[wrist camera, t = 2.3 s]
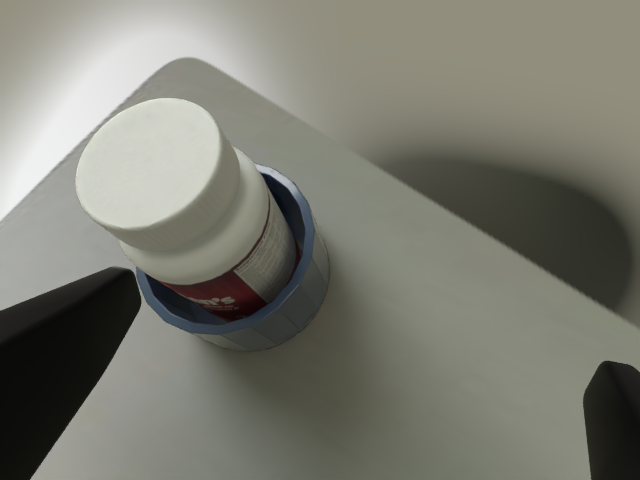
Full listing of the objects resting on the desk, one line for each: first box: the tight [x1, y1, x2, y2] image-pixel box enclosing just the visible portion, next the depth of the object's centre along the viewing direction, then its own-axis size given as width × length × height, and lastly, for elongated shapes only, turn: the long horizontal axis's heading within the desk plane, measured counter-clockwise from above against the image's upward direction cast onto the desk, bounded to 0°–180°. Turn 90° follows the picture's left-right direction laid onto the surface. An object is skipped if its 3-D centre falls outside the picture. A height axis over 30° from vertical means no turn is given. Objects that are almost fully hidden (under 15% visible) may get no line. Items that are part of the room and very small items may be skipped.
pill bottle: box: [76, 98, 302, 322], centre depth 19 cm, size 6×6×11 cm
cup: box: [136, 163, 329, 352], centre depth 22 cm, size 9×9×5 cm
